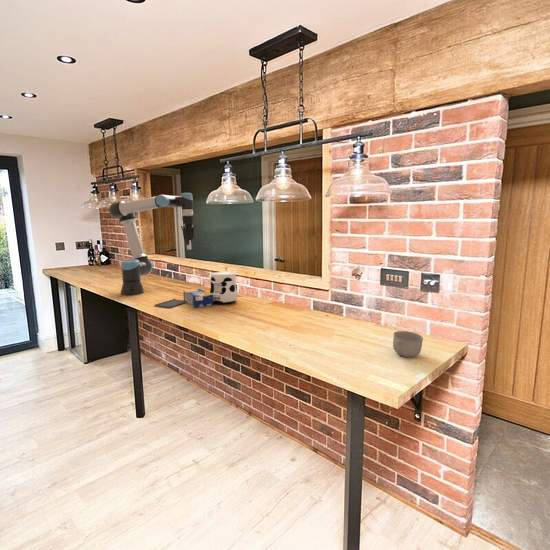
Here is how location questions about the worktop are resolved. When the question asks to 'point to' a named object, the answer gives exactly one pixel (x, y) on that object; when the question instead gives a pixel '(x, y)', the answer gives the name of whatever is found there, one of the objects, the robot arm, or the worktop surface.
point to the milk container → (223, 287)
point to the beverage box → (198, 298)
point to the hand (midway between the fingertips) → (189, 249)
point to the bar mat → (171, 303)
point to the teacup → (407, 343)
